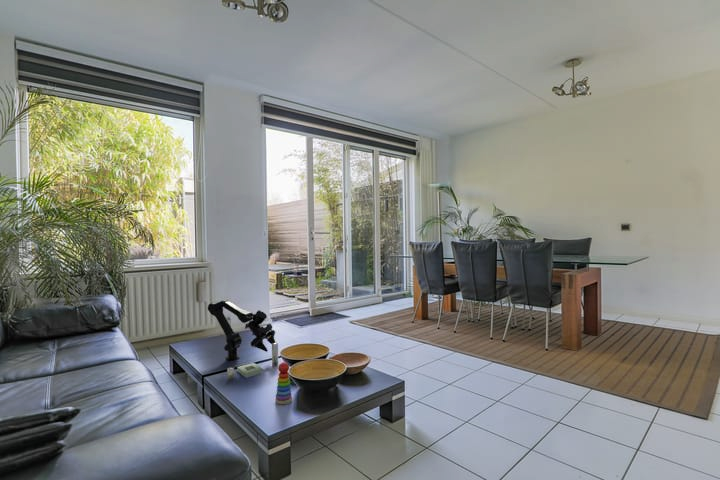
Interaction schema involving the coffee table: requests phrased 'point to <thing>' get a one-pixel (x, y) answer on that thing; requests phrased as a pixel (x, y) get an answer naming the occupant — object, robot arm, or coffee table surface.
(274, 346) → the tall pin
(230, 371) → the short pin
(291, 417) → the coffee table surface
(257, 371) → the hole plate
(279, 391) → the stacking toy
